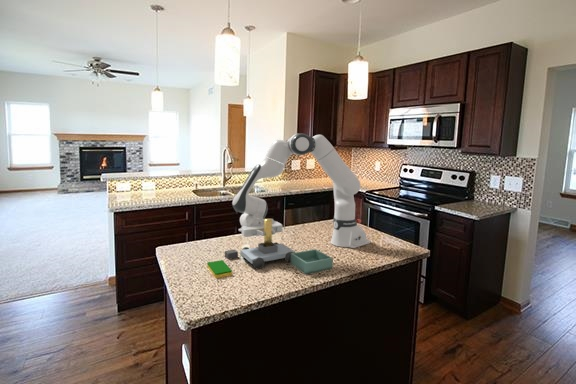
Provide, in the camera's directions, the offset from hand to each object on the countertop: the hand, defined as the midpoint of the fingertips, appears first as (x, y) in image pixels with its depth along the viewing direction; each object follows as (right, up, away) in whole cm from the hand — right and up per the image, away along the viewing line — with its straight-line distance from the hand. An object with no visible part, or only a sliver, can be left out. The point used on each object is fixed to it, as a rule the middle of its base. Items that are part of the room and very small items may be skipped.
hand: (268, 233), depth 150 cm
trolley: (-1, -13, +3) cm, 13 cm away
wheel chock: (-19, -12, +6) cm, 23 cm away
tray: (+19, -14, -4) cm, 24 cm away
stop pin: (-1, -8, +2) cm, 9 cm away
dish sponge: (-21, -15, -10) cm, 28 cm away
